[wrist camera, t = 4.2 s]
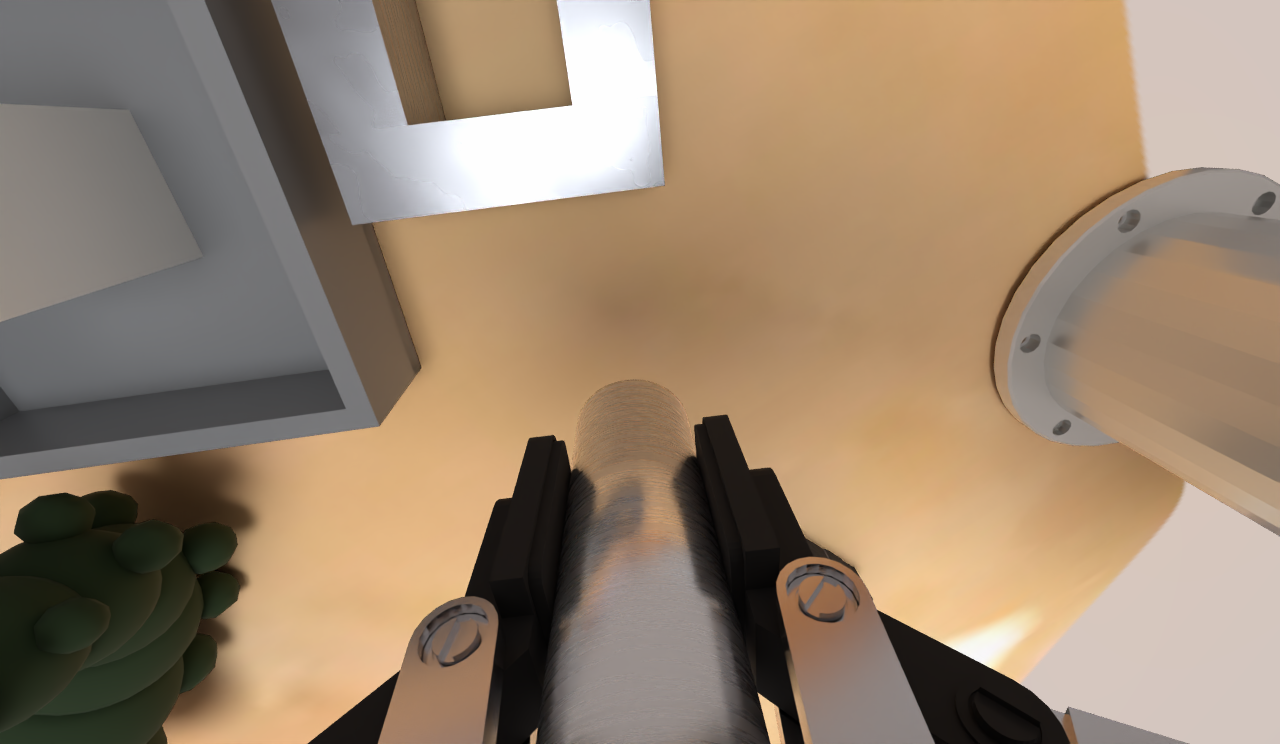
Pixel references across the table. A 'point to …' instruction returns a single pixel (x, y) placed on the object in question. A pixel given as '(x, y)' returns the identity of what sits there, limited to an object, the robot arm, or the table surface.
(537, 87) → the table surface
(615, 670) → the rod
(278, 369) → the case
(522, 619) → the robot arm
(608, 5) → the socket block
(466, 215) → the table surface
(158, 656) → the toy figurine
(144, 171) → the block
